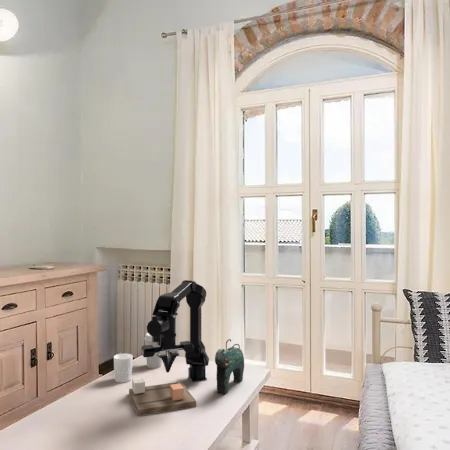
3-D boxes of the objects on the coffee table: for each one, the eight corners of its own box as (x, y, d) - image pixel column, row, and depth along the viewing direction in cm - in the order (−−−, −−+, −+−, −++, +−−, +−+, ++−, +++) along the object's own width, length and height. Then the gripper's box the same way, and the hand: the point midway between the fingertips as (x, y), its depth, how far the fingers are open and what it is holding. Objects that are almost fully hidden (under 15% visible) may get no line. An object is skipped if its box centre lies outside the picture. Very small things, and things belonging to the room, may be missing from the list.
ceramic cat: (224, 397, 160) (225, 345, 160) (210, 393, 163) (210, 342, 163) (247, 380, 178) (247, 333, 178) (233, 377, 181) (233, 331, 181)
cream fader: (142, 387, 163) (142, 377, 163) (145, 392, 158) (145, 381, 158) (132, 389, 161) (132, 378, 161) (134, 394, 157) (134, 383, 157)
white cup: (122, 384, 172) (123, 360, 172) (109, 380, 176) (109, 357, 176) (136, 378, 179) (136, 355, 179) (123, 375, 183) (123, 352, 183)
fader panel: (181, 386, 170) (181, 381, 170) (196, 406, 152) (196, 400, 152) (129, 393, 162) (129, 388, 162) (138, 415, 144) (138, 409, 144)
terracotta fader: (180, 393, 157) (180, 383, 157) (183, 399, 153) (183, 388, 153) (169, 395, 156) (169, 384, 156) (173, 400, 151) (173, 389, 151)
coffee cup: (140, 369, 191) (140, 336, 190) (148, 362, 200) (148, 330, 200) (160, 370, 189) (161, 337, 189) (167, 363, 198) (167, 331, 198)
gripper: (185, 322, 164) (185, 362, 164) (138, 326, 157) (138, 368, 157) (194, 329, 154) (194, 371, 154) (144, 334, 147) (143, 378, 147)
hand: (167, 372), depth 153 cm, fingers closed
